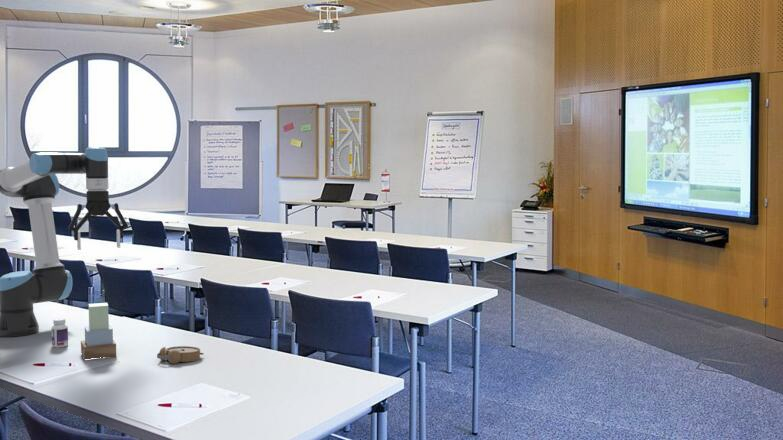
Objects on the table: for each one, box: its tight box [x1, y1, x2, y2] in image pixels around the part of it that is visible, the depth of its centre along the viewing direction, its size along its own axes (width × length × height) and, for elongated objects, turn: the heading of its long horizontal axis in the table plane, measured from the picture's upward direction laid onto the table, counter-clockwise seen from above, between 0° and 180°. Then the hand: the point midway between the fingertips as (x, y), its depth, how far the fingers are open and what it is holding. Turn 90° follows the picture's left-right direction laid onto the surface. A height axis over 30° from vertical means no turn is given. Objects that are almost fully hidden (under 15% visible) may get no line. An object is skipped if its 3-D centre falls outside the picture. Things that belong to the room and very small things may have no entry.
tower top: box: [84, 324, 114, 346], centre depth 258 cm, size 8×8×5 cm
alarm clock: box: [156, 345, 204, 365], centre depth 253 cm, size 11×5×15 cm
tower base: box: [80, 339, 117, 360], centre depth 258 cm, size 10×10×5 cm
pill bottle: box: [50, 317, 69, 348], centre depth 271 cm, size 5×5×10 cm
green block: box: [88, 302, 110, 330], centre depth 257 cm, size 6×6×8 cm
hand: (99, 248), depth 275 cm, fingers open, 13 cm apart
